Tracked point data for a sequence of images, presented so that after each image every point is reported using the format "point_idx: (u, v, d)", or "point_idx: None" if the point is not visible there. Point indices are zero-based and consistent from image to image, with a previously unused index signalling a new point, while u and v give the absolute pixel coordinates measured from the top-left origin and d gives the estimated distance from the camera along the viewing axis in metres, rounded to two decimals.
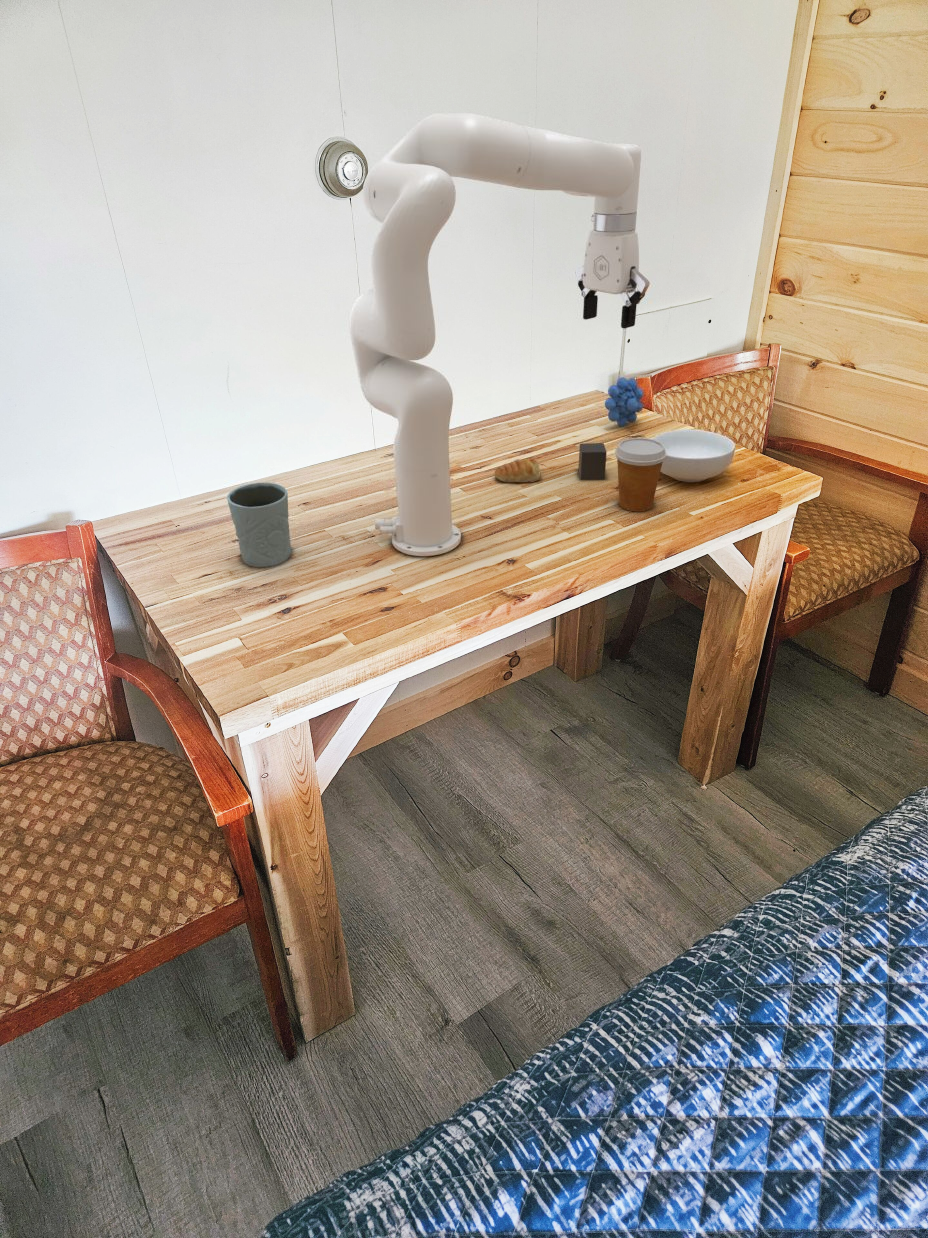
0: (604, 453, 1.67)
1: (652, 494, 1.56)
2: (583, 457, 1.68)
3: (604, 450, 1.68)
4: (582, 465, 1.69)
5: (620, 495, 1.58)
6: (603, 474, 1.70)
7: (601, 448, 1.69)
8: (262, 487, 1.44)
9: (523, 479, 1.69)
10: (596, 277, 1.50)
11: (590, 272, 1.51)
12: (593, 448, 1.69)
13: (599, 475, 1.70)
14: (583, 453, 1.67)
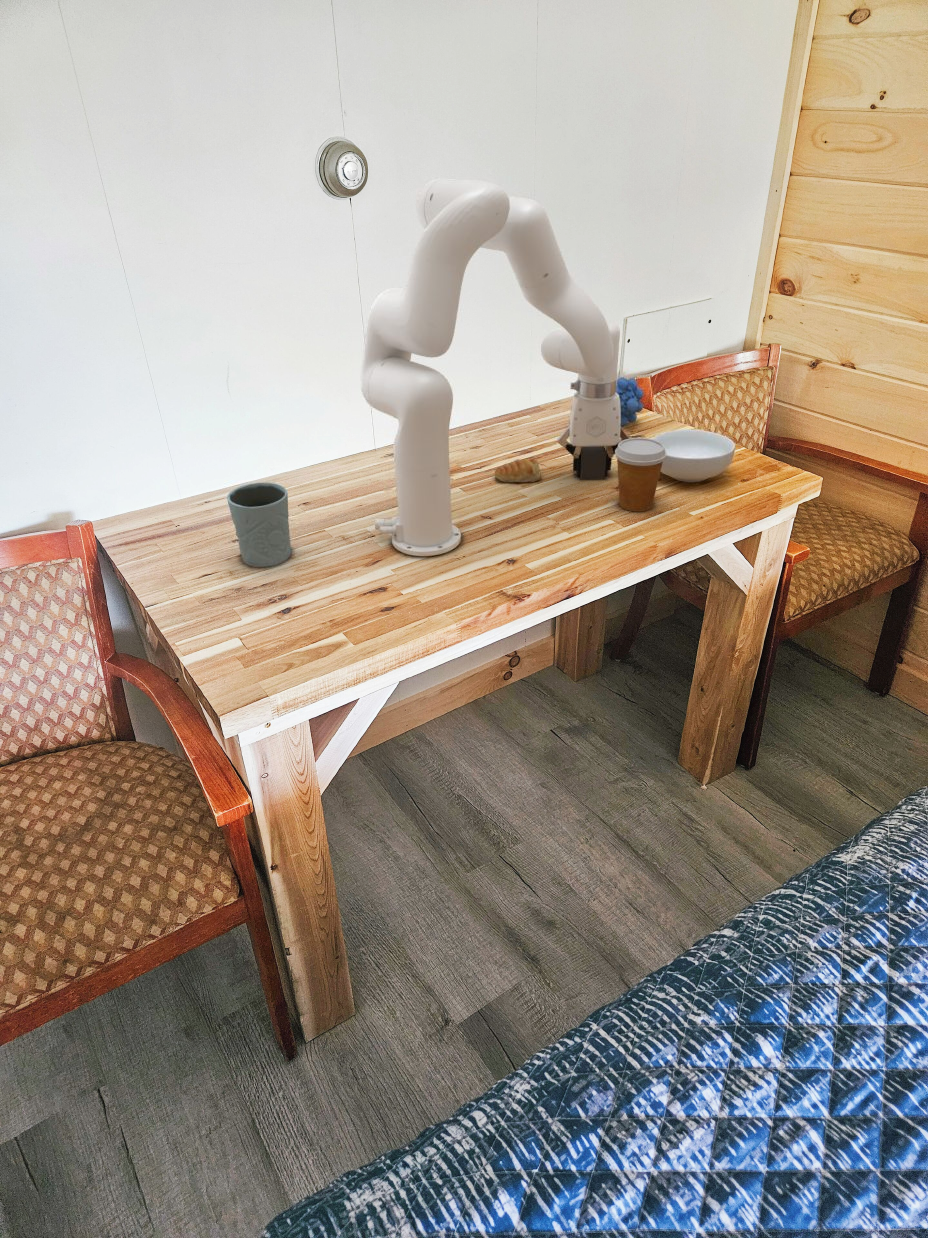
0: (604, 453, 1.67)
1: (652, 494, 1.56)
2: (583, 457, 1.68)
3: (604, 450, 1.68)
4: (582, 465, 1.69)
5: (620, 495, 1.58)
6: (603, 474, 1.70)
7: (601, 448, 1.69)
8: (262, 487, 1.44)
9: (523, 479, 1.69)
10: (590, 435, 1.65)
11: (582, 432, 1.65)
12: (593, 448, 1.69)
13: (599, 475, 1.70)
14: (583, 453, 1.67)
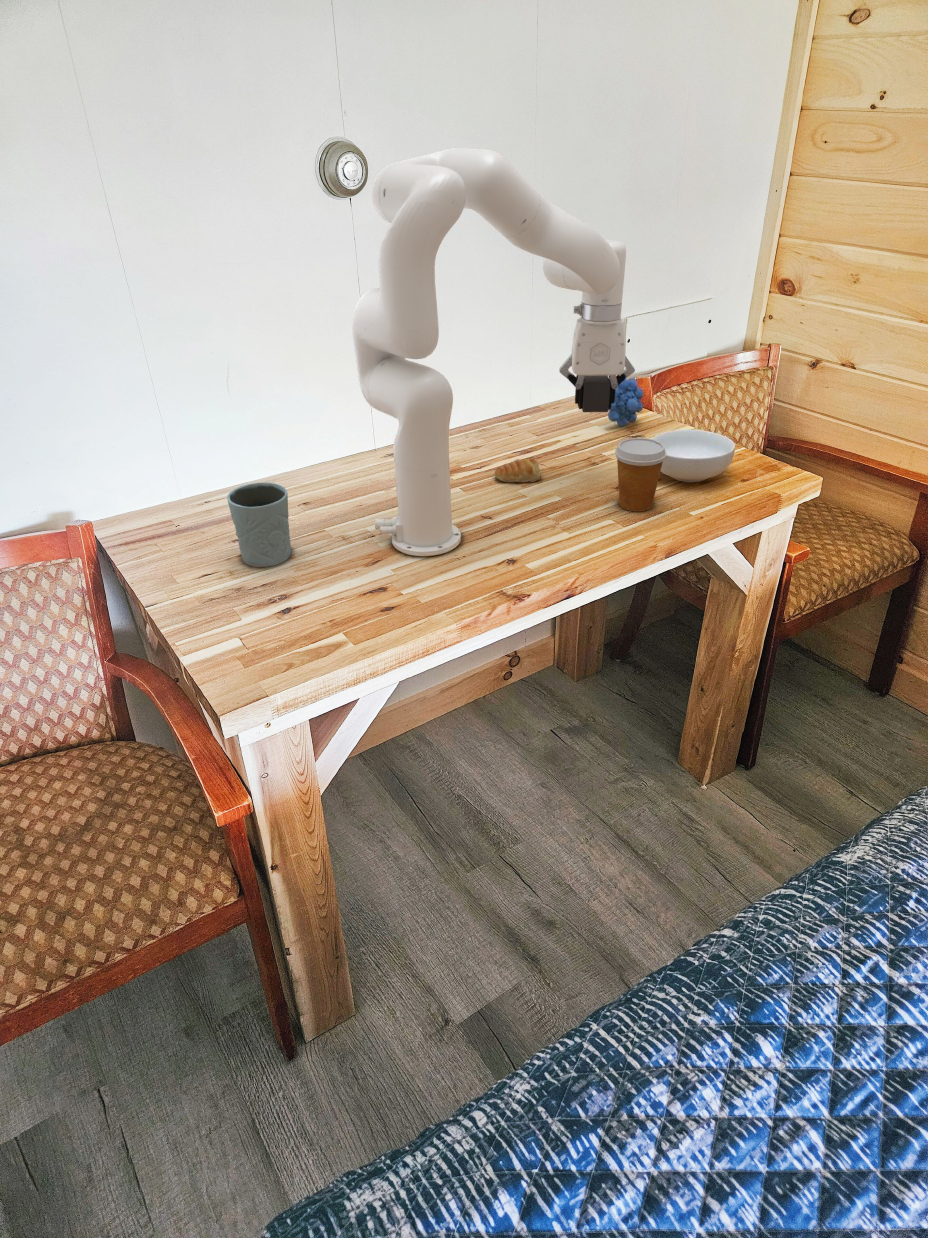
0: (608, 383, 1.59)
1: (652, 494, 1.56)
2: (586, 387, 1.60)
3: (608, 380, 1.60)
4: (585, 396, 1.61)
5: (620, 495, 1.58)
6: (606, 406, 1.62)
7: (605, 378, 1.61)
8: (262, 487, 1.44)
9: (523, 479, 1.69)
10: (593, 363, 1.57)
11: (585, 360, 1.57)
12: (596, 378, 1.61)
13: (602, 407, 1.62)
14: (586, 383, 1.59)
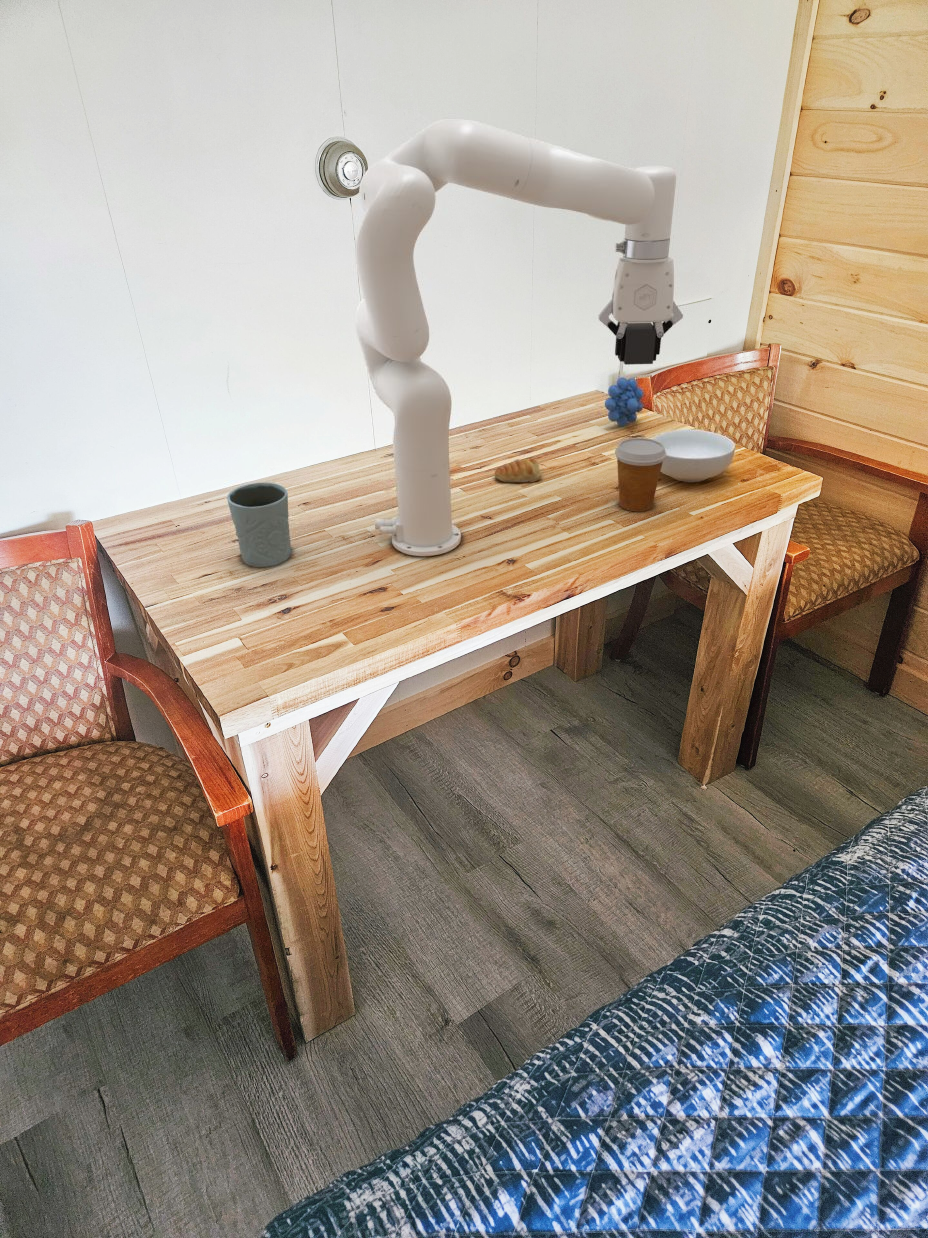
0: (653, 331, 1.43)
1: (652, 494, 1.56)
2: (628, 336, 1.43)
3: (653, 328, 1.43)
4: (627, 346, 1.44)
5: (620, 495, 1.58)
6: (651, 357, 1.45)
7: (649, 326, 1.44)
8: (262, 487, 1.44)
9: (523, 479, 1.69)
10: (638, 308, 1.40)
11: (629, 304, 1.40)
12: (640, 326, 1.44)
13: (647, 358, 1.45)
14: (629, 331, 1.43)
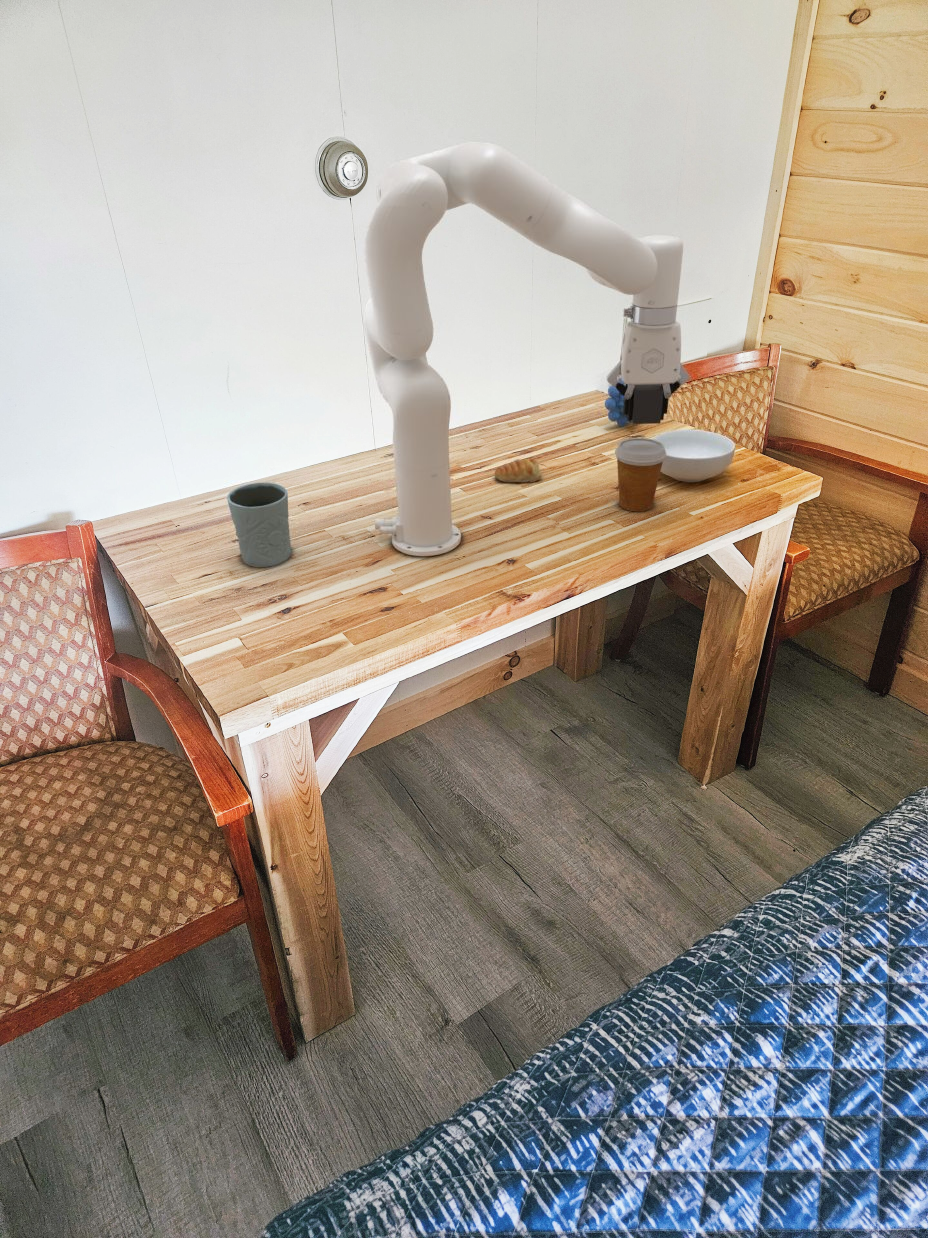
0: (661, 392, 1.45)
1: (652, 494, 1.56)
2: (636, 397, 1.46)
3: (661, 389, 1.46)
4: (635, 407, 1.47)
5: (620, 495, 1.58)
6: (659, 417, 1.48)
7: (657, 387, 1.47)
8: (262, 487, 1.44)
9: (523, 479, 1.69)
10: (645, 371, 1.43)
11: (636, 367, 1.42)
12: (647, 387, 1.47)
13: (654, 418, 1.48)
14: (636, 392, 1.45)
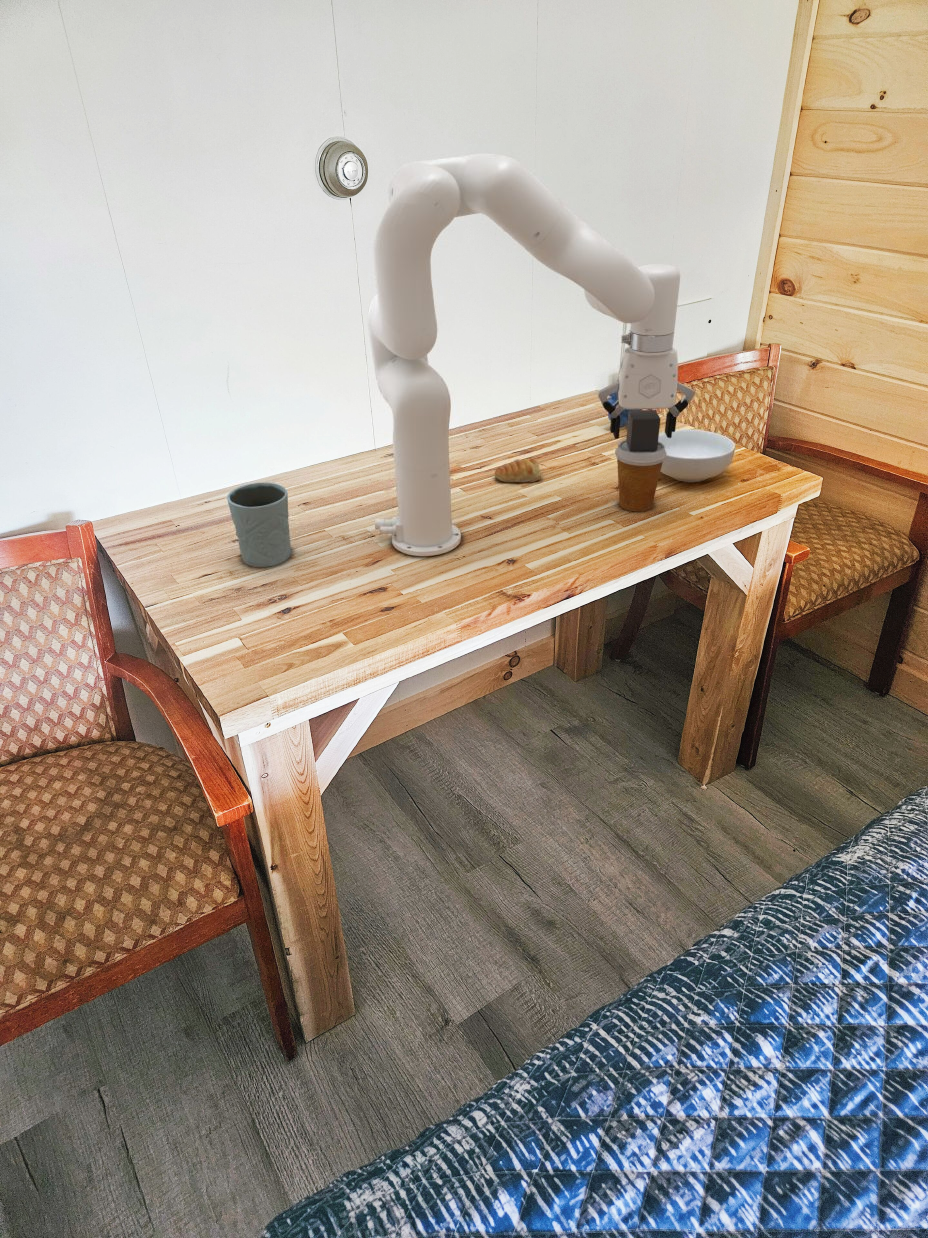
0: (658, 420, 1.48)
1: (652, 494, 1.56)
2: (634, 425, 1.48)
3: (657, 417, 1.48)
4: (632, 434, 1.49)
5: (620, 495, 1.58)
6: (656, 445, 1.50)
7: (654, 415, 1.49)
8: (262, 487, 1.44)
9: (523, 479, 1.69)
10: (642, 396, 1.45)
11: (634, 393, 1.45)
12: (645, 415, 1.49)
13: (651, 445, 1.50)
14: (634, 420, 1.48)
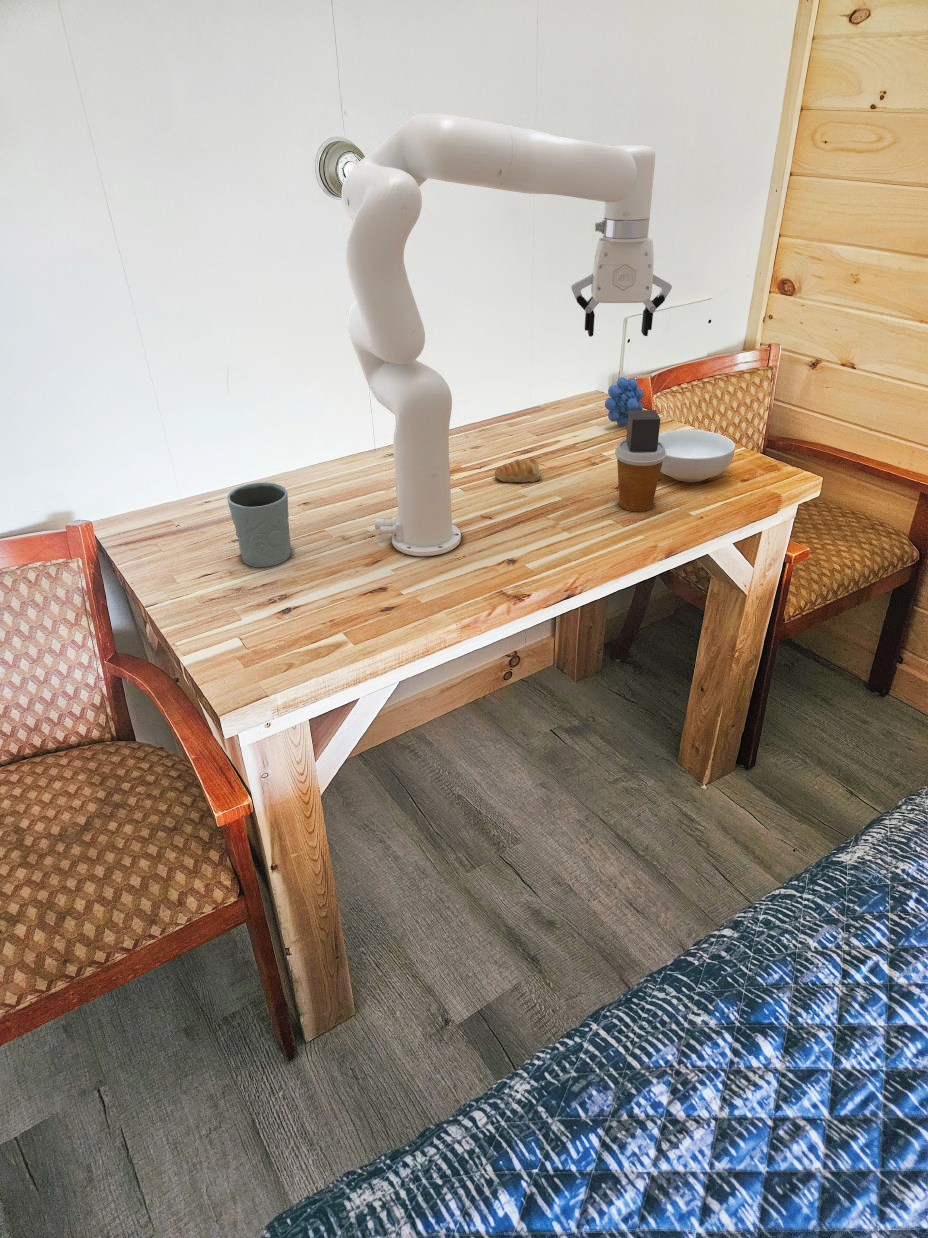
0: (658, 420, 1.48)
1: (652, 494, 1.56)
2: (634, 425, 1.48)
3: (657, 417, 1.48)
4: (632, 434, 1.49)
5: (620, 495, 1.58)
6: (656, 445, 1.50)
7: (654, 415, 1.49)
8: (262, 487, 1.44)
9: (523, 479, 1.69)
10: (617, 288, 1.40)
11: (607, 284, 1.40)
12: (645, 415, 1.49)
13: (651, 445, 1.50)
14: (634, 420, 1.48)
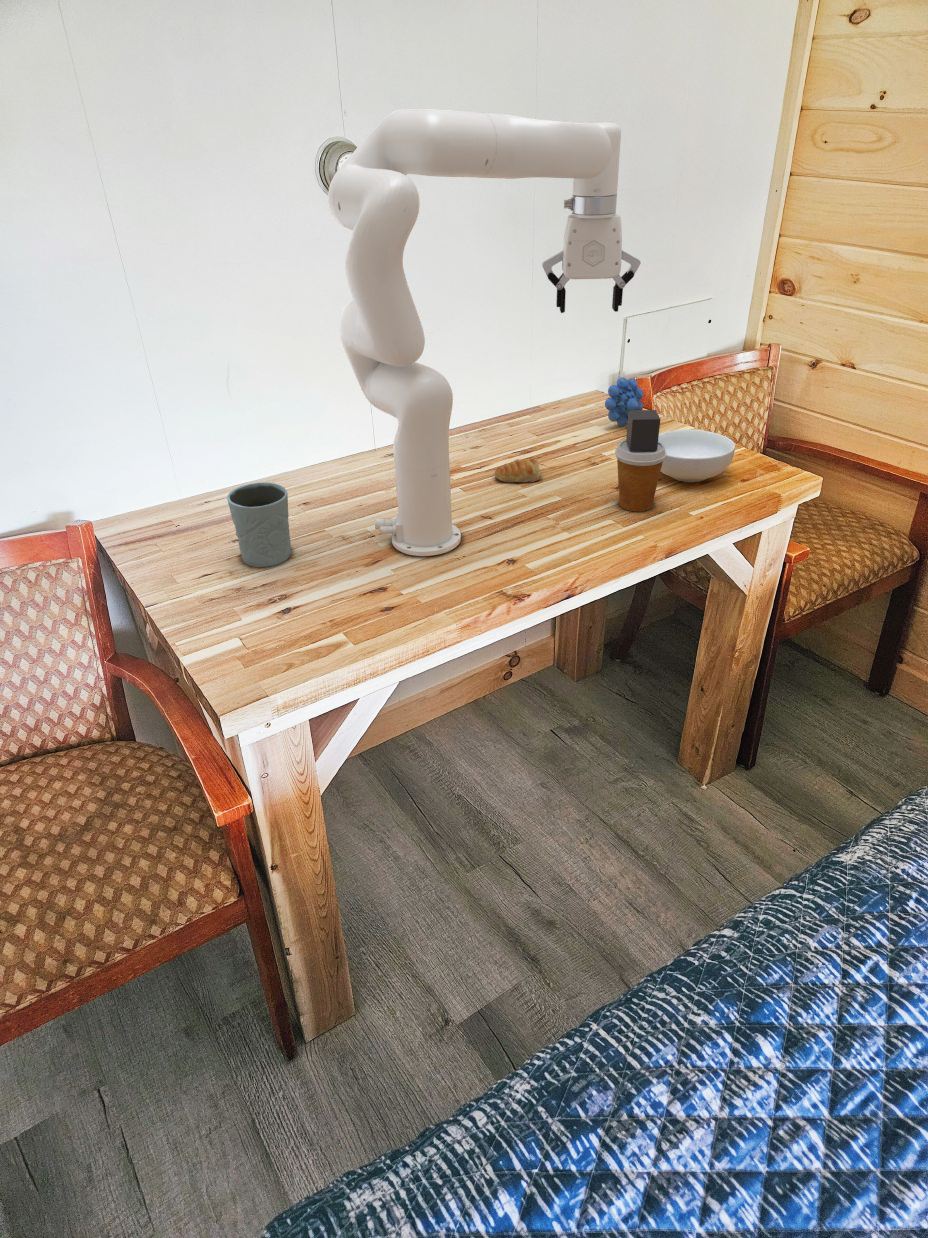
0: (658, 420, 1.48)
1: (652, 494, 1.56)
2: (634, 425, 1.48)
3: (657, 417, 1.48)
4: (632, 434, 1.49)
5: (620, 495, 1.58)
6: (656, 445, 1.50)
7: (654, 415, 1.49)
8: (262, 487, 1.44)
9: (523, 479, 1.69)
10: (586, 264, 1.43)
11: (577, 260, 1.43)
12: (645, 415, 1.49)
13: (651, 445, 1.50)
14: (634, 420, 1.48)
